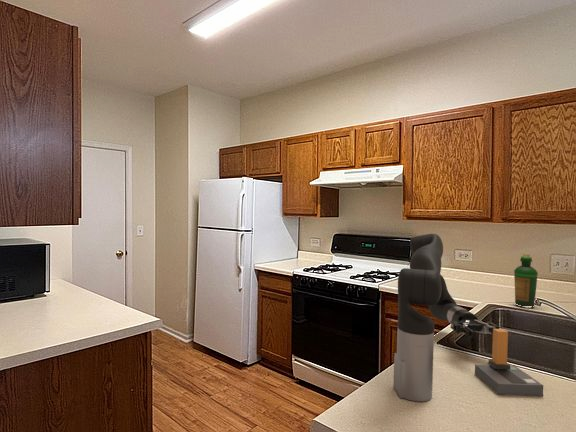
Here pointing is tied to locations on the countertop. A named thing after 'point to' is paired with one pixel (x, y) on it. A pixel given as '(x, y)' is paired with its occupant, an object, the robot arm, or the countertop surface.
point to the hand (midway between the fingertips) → (485, 334)
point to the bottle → (525, 282)
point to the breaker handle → (499, 349)
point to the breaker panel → (509, 381)
